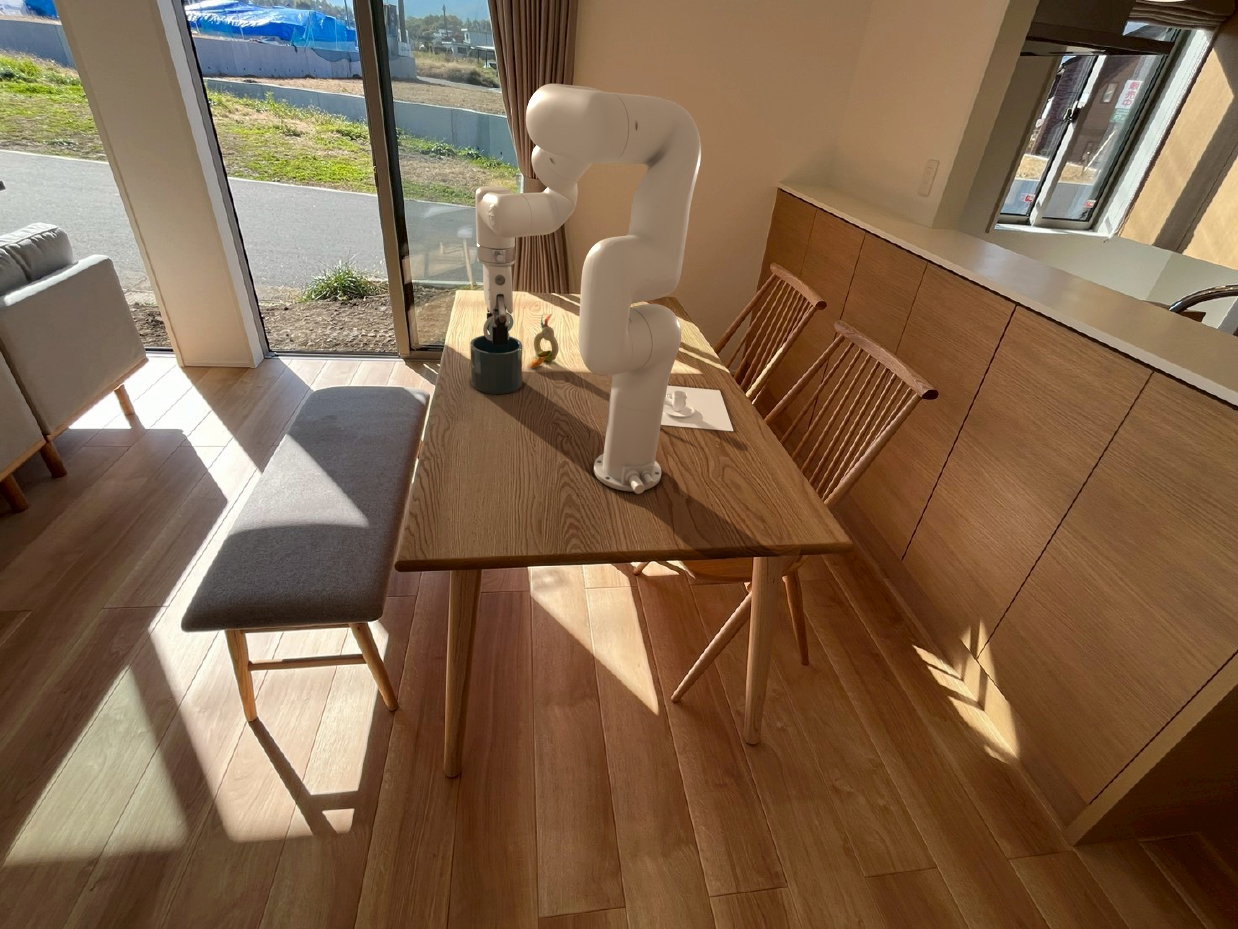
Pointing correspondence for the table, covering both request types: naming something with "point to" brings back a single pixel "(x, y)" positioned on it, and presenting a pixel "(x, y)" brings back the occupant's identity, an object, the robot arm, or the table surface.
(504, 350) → the cup
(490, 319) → the pacifier
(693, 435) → the table surface
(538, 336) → the rattle
